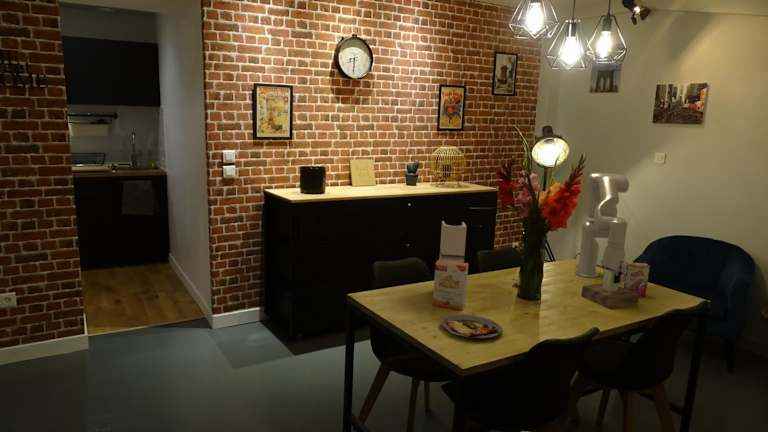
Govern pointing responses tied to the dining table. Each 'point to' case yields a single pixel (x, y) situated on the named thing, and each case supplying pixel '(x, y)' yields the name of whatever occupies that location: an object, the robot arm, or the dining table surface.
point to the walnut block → (609, 296)
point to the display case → (453, 242)
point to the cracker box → (450, 284)
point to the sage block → (609, 280)
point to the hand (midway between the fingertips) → (611, 280)
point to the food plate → (471, 326)
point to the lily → (517, 279)
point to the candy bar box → (636, 277)
